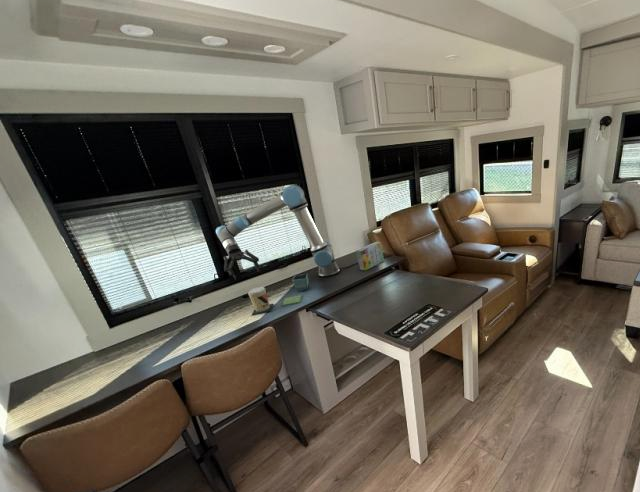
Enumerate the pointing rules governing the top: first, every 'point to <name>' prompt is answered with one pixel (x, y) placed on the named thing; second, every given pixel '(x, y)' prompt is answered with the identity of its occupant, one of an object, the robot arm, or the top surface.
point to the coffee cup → (259, 299)
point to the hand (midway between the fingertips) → (247, 274)
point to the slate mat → (263, 311)
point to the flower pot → (301, 282)
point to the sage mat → (292, 300)
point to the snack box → (370, 256)
